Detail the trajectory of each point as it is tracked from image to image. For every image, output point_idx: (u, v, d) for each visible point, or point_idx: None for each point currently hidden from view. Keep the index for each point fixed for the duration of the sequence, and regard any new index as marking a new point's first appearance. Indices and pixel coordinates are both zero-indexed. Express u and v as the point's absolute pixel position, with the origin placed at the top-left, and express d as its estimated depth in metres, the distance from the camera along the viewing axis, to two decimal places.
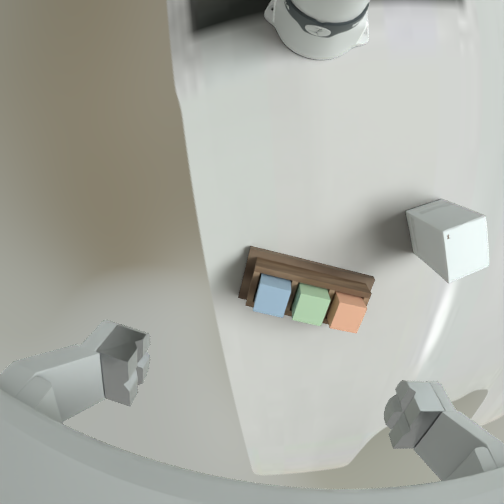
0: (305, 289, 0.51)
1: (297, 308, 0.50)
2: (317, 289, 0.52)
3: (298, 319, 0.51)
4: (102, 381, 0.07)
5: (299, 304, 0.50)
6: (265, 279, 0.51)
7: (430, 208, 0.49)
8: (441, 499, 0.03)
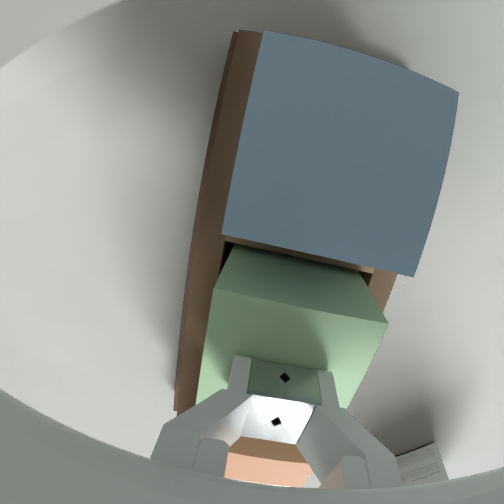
0: None
1: (295, 313, 0.08)
2: None
3: (220, 322, 0.09)
4: (244, 421, 0.07)
5: (321, 322, 0.08)
6: None
7: None
8: (441, 499, 0.03)
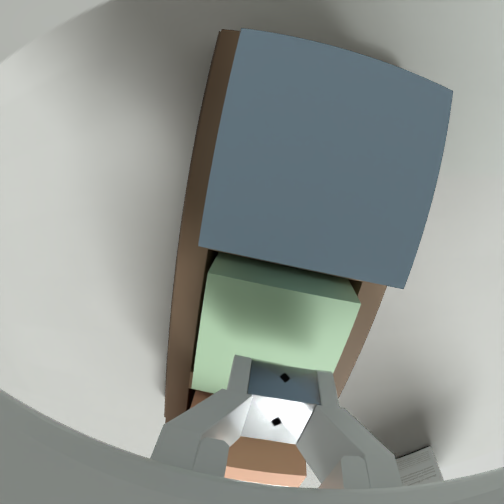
0: None
1: (278, 294, 0.10)
2: None
3: (213, 302, 0.10)
4: (244, 421, 0.07)
5: (301, 301, 0.10)
6: None
7: None
8: (441, 499, 0.03)
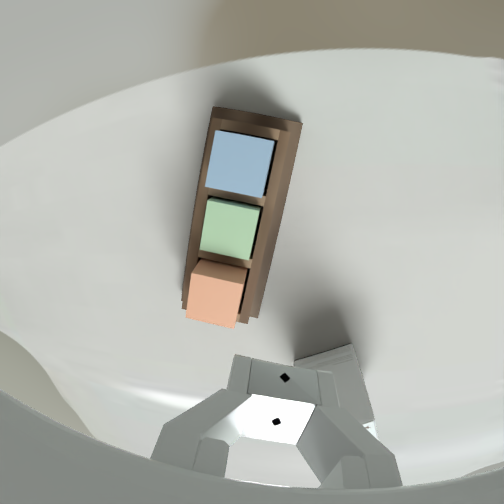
0: (258, 215, 0.32)
1: (230, 207, 0.30)
2: None
3: (209, 210, 0.30)
4: (244, 421, 0.07)
5: (238, 210, 0.30)
6: (272, 149, 0.28)
7: None
8: (441, 499, 0.03)
